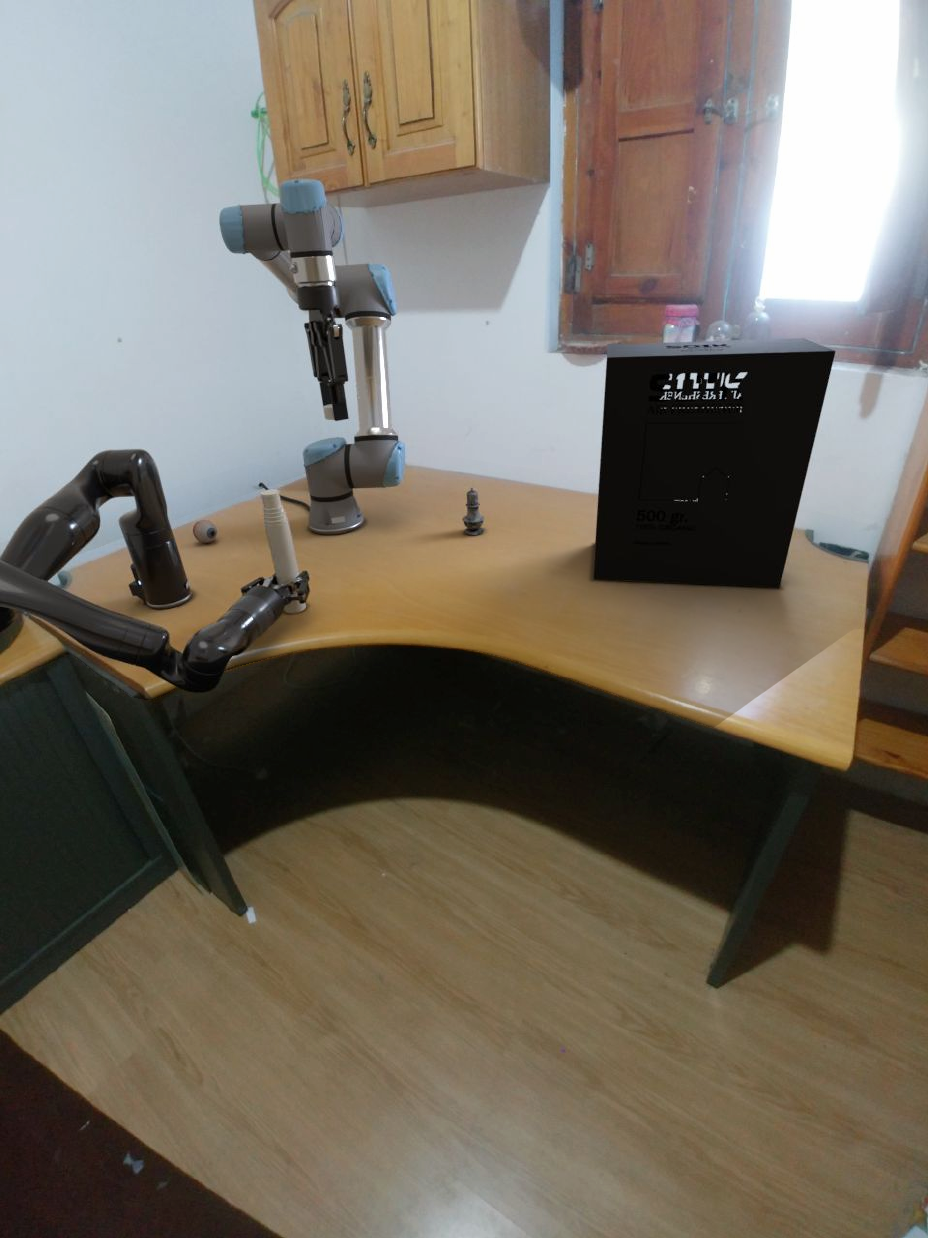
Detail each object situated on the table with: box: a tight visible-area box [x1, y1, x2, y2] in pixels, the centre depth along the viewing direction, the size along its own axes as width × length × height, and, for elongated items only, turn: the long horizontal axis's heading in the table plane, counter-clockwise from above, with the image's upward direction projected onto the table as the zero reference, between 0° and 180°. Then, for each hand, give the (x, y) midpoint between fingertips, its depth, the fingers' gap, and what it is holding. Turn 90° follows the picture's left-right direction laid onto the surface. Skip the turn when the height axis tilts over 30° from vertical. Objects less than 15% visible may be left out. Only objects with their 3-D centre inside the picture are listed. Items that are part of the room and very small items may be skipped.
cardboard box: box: [592, 337, 836, 589], centre depth 125 cm, size 38×20×45 cm, turn 78°
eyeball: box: [192, 519, 218, 544], centre depth 162 cm, size 6×6×6 cm
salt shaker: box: [461, 487, 485, 536], centre depth 157 cm, size 6×6×12 cm
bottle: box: [260, 488, 307, 614], centre depth 122 cm, size 5×5×25 cm
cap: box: [322, 404, 335, 421], centre depth 120 cm, size 4×4×2 cm
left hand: (294, 574), depth 127 cm, fingers closed on bottle, 4 cm apart
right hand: (336, 417), depth 121 cm, fingers closed on cap, 4 cm apart
